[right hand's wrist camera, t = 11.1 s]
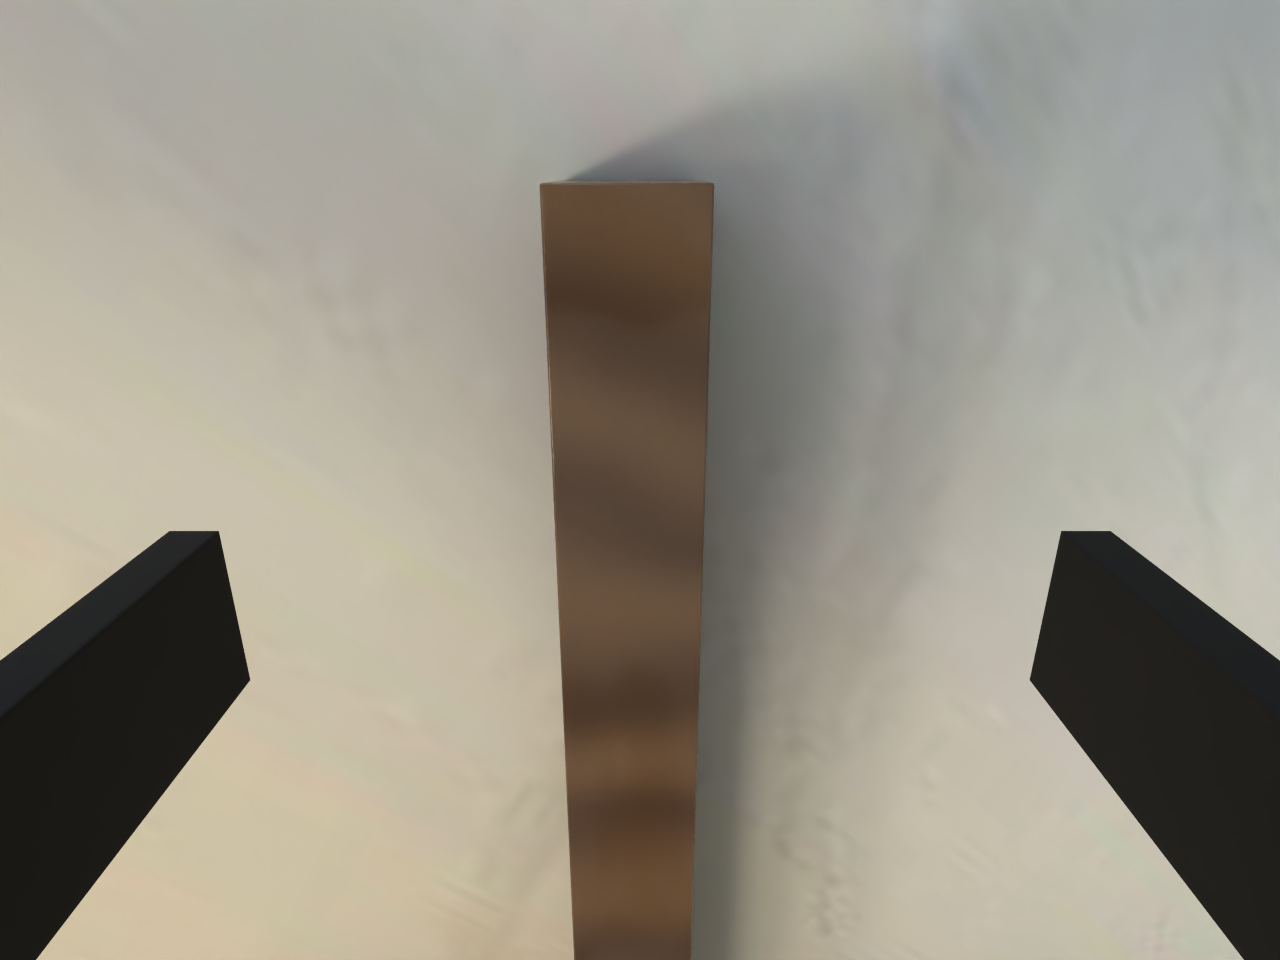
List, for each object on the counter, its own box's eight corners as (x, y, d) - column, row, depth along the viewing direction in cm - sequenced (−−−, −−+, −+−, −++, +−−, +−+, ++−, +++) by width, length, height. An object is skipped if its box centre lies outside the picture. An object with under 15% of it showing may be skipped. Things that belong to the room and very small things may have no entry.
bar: (562, 180, 30) (539, 183, 23) (697, 180, 30) (714, 182, 23) (597, 1185, 52) (591, 1341, 45) (674, 1185, 52) (679, 1340, 45)
